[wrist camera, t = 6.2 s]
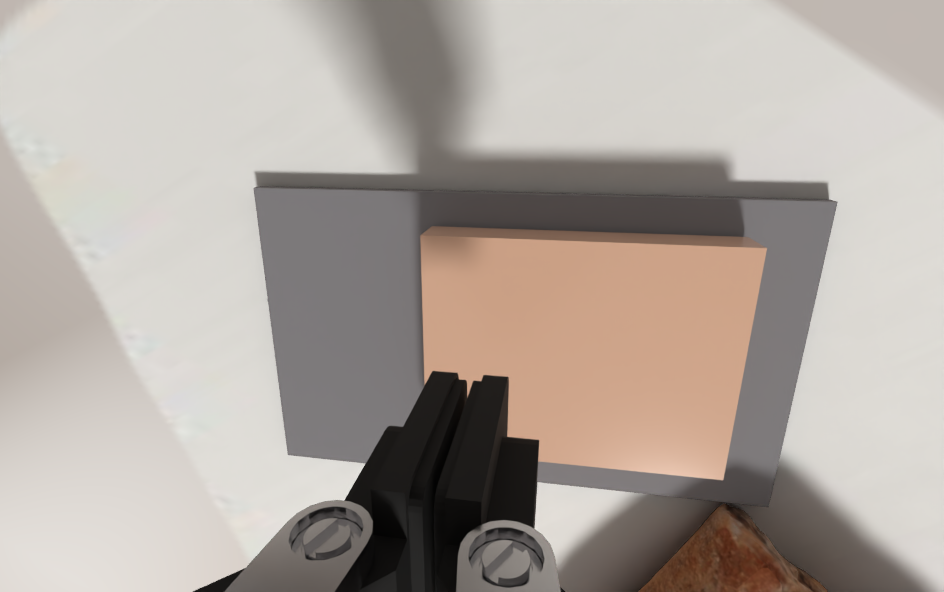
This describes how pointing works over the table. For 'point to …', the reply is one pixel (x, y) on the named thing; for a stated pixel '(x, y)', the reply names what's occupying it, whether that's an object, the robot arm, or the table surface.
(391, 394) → the mat
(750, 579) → the ceramic shard
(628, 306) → the tile
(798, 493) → the table surface
